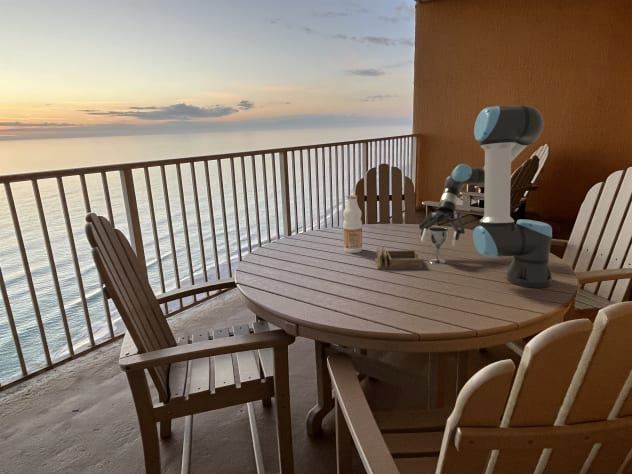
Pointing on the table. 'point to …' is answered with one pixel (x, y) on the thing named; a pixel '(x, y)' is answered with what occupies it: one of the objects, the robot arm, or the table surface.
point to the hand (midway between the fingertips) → (437, 243)
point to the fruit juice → (352, 226)
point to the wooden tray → (398, 259)
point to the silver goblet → (438, 241)
